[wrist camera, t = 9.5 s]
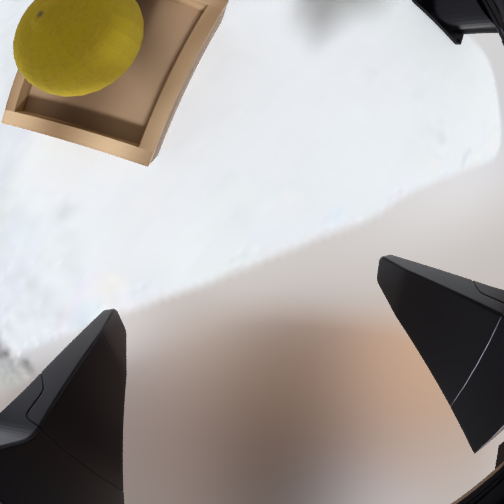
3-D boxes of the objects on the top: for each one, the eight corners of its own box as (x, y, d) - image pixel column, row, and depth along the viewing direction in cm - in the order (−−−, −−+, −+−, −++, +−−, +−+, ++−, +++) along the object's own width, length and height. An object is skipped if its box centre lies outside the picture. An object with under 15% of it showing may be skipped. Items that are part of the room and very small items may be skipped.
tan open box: (221, 21, 14) (228, -1, 10) (157, 155, 18) (147, 166, 14) (90, -10, 11) (71, -32, 7) (33, 118, 14) (1, 122, 10)
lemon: (94, 3, 10) (37, -54, 3) (173, 29, 12) (158, -39, 5) (47, 84, 11) (-40, 77, 4) (122, 114, 13) (60, 114, 6)
